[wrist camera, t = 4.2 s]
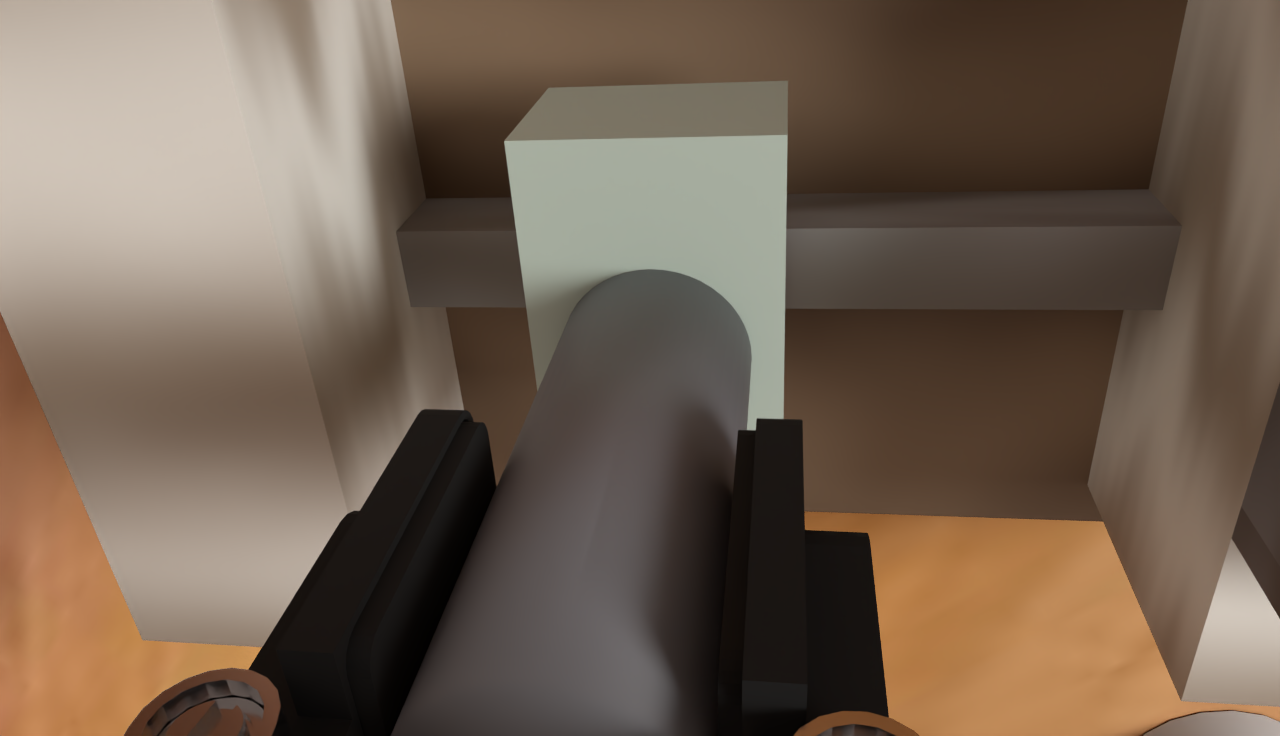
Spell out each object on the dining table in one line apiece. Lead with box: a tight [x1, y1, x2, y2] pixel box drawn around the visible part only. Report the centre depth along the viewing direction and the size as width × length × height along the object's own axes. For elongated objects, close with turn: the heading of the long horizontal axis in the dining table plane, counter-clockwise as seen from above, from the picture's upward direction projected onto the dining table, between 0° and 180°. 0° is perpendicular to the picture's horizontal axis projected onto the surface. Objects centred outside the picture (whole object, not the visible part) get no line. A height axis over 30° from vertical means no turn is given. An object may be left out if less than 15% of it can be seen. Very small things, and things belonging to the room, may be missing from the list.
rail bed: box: [0, 0, 1280, 707], centre depth 17 cm, size 14×24×10 cm, turn 93°
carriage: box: [391, 81, 788, 736], centre depth 13 cm, size 7×4×11 cm, turn 3°
